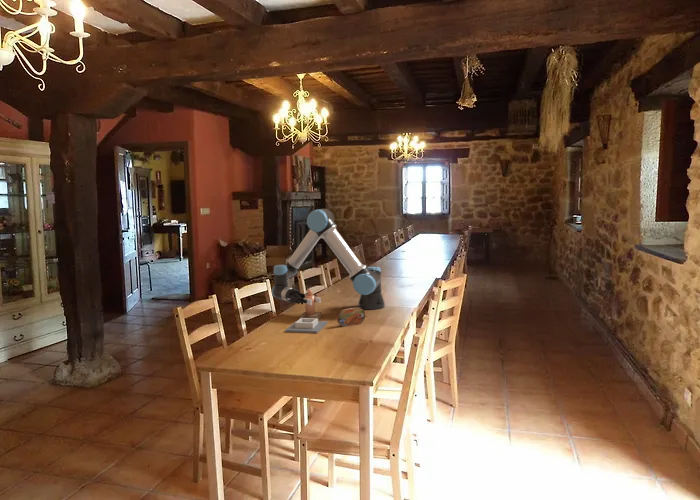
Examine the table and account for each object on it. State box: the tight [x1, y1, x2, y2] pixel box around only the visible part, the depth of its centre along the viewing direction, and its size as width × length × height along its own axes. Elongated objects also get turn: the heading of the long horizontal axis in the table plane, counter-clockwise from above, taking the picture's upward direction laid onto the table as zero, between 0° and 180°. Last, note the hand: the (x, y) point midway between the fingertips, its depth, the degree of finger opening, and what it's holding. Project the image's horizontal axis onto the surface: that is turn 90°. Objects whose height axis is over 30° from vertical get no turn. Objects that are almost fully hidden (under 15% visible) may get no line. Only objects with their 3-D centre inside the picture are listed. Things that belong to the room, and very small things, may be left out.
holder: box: [284, 317, 328, 334], centre depth 250 cm, size 16×18×4 cm
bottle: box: [304, 288, 316, 315], centre depth 266 cm, size 5×5×13 cm
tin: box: [336, 307, 366, 328], centre depth 253 cm, size 15×3×8 cm, turn 117°
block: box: [299, 311, 322, 320], centre depth 267 cm, size 9×9×2 cm
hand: (315, 301), depth 262 cm, fingers closed on bottle, 5 cm apart
